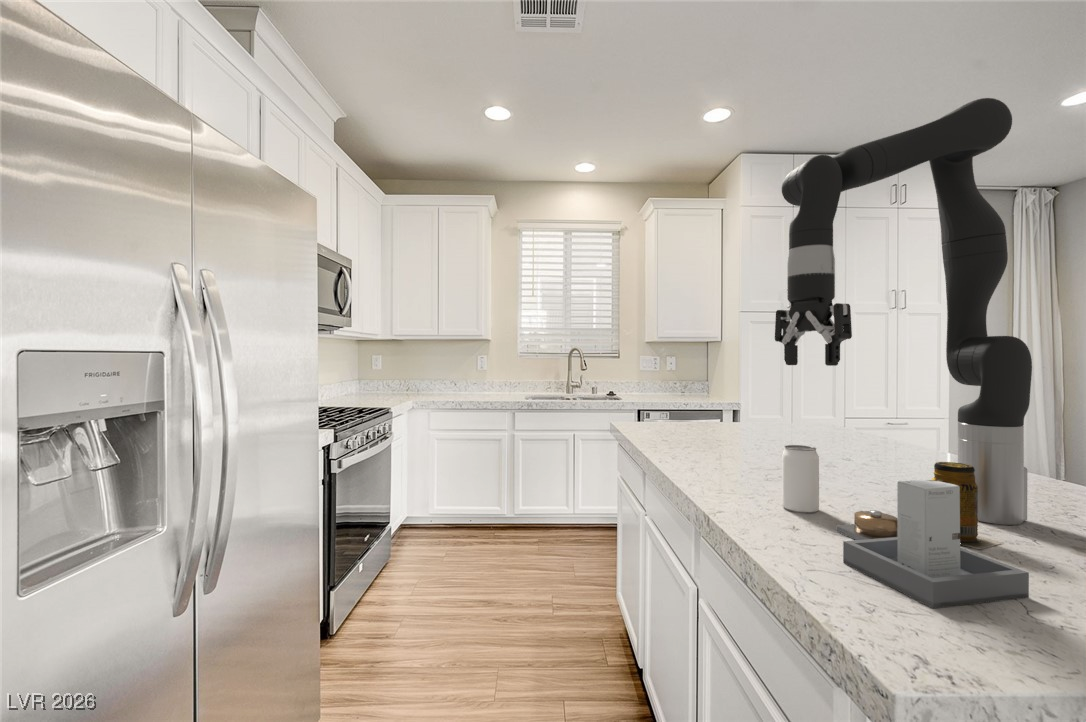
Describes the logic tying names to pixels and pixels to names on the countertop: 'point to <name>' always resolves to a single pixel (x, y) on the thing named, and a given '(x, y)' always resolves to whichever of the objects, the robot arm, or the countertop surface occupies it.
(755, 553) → the countertop surface
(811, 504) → the can
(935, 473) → the condiment
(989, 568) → the tray
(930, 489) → the skincare box
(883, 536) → the service bell
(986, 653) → the countertop surface
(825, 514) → the countertop surface
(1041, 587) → the countertop surface
